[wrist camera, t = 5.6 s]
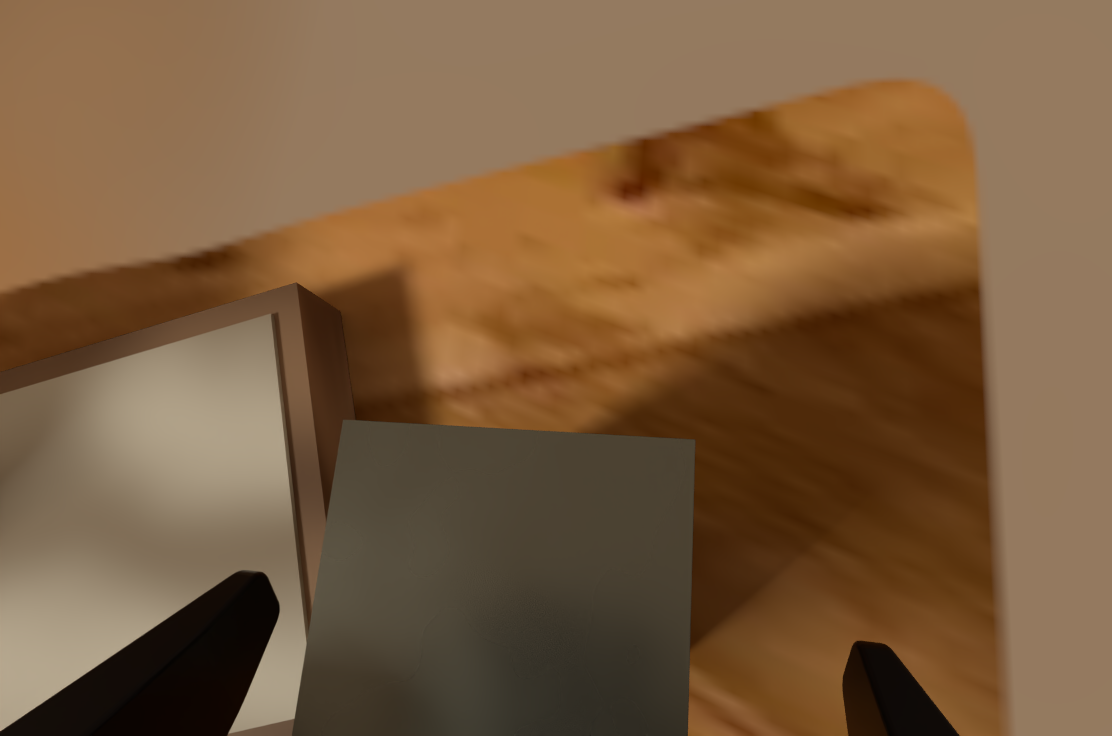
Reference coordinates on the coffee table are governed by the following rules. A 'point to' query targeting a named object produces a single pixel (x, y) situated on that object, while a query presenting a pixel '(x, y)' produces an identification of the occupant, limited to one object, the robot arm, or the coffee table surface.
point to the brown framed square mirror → (168, 489)
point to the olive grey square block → (501, 585)
